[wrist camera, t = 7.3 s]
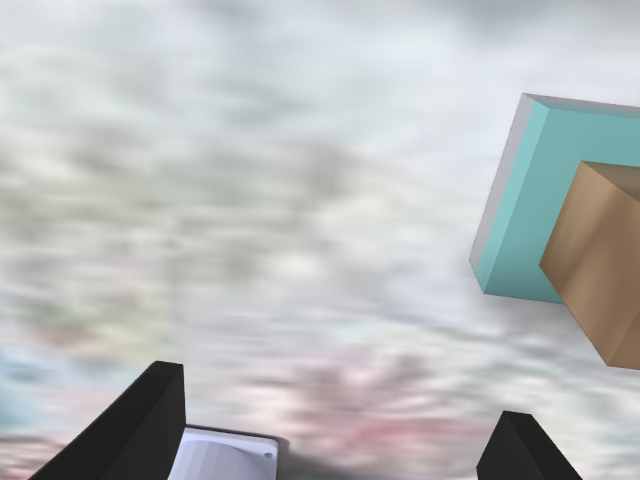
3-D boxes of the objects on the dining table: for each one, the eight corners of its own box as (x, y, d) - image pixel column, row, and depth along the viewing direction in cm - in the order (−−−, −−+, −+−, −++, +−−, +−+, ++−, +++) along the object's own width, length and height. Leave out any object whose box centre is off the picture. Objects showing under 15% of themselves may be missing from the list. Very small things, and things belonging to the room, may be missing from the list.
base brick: (630, 280, 19) (666, 317, 16) (468, 259, 19) (483, 293, 17) (721, 117, 15) (781, 137, 13) (522, 93, 15) (549, 108, 13)
